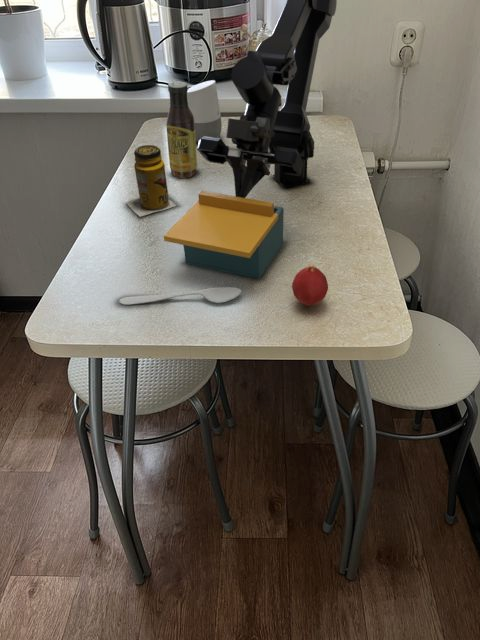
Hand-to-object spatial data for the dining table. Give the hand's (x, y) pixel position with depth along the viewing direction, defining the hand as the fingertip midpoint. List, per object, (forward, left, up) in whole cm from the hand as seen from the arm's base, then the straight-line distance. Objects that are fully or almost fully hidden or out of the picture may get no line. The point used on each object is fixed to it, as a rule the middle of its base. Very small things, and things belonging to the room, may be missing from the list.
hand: (238, 201), depth 104 cm
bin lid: (+5, +5, -2) cm, 8 cm away
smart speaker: (-14, -52, -10) cm, 55 cm away
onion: (-2, +22, -10) cm, 24 cm away
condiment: (+10, -24, -10) cm, 28 cm away
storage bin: (+2, +2, -9) cm, 10 cm away
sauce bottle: (-2, -35, -10) cm, 36 cm away
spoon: (+16, +11, -10) cm, 22 cm away
